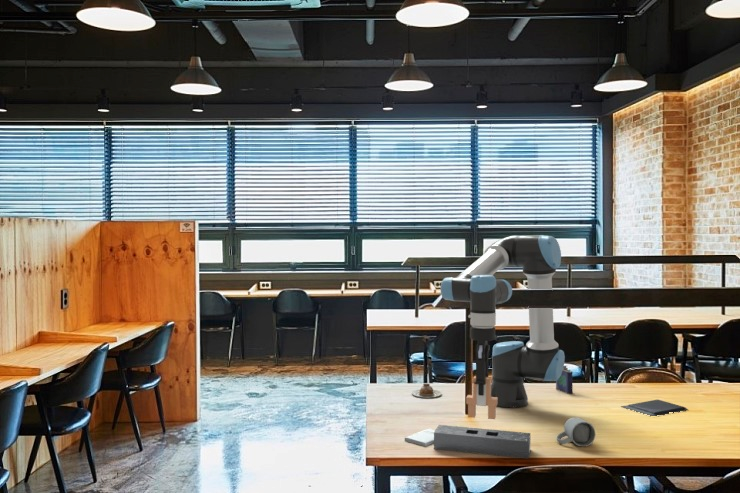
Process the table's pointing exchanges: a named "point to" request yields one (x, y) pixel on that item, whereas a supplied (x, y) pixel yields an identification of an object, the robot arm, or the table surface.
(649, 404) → the dark gray flat slab
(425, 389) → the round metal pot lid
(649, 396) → the table surface
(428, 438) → the external hard drive
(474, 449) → the rail
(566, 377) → the flask
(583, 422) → the ceramic mug
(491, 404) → the tan wooden block
